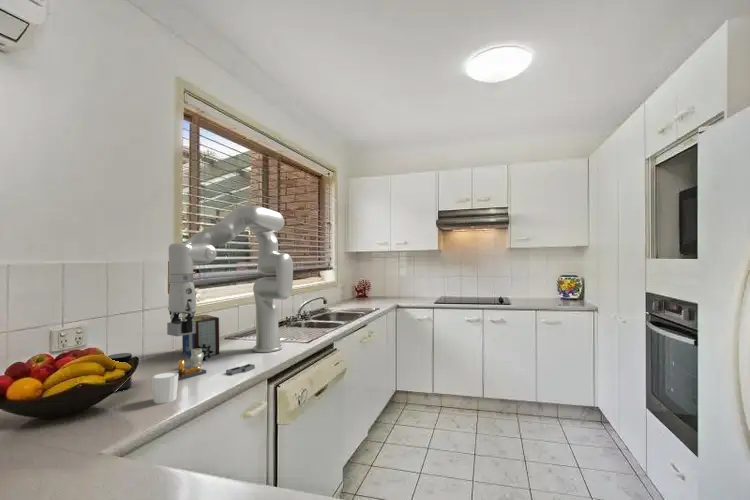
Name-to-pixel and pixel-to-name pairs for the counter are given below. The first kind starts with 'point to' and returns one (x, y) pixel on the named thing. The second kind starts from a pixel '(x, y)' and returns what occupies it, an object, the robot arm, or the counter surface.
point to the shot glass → (164, 387)
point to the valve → (199, 355)
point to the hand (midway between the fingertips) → (181, 331)
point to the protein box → (203, 335)
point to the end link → (179, 328)
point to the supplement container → (125, 358)
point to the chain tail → (240, 369)
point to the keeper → (188, 371)
